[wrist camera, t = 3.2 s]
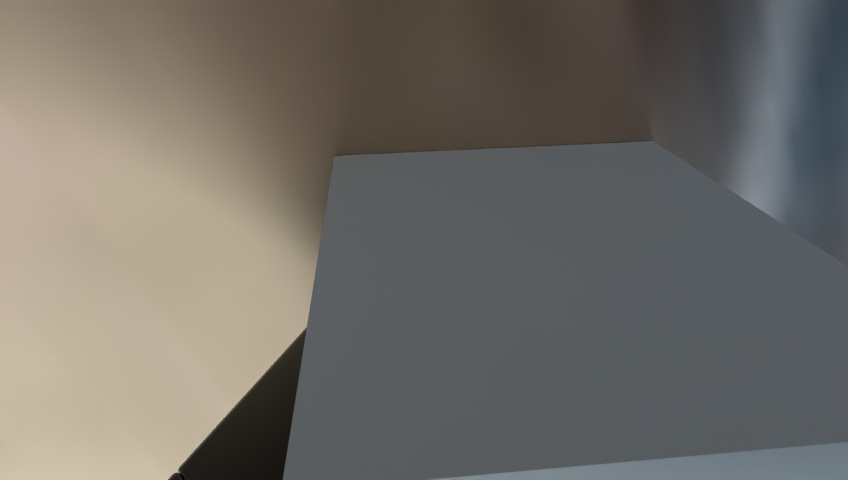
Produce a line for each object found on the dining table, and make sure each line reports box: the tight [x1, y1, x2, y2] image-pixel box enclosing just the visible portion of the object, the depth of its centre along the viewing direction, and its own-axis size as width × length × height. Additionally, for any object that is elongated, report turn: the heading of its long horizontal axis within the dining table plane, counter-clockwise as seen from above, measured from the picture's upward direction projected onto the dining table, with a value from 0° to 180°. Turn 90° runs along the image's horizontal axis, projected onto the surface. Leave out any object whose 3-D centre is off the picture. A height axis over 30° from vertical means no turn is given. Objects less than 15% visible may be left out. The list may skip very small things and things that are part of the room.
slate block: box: [283, 141, 848, 480], centre depth 7 cm, size 5×5×6 cm
